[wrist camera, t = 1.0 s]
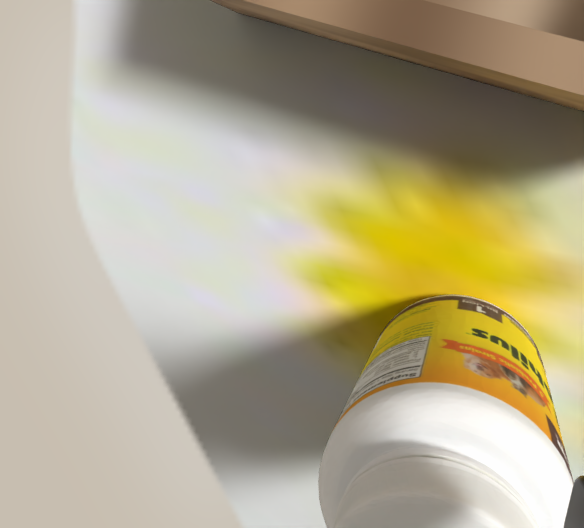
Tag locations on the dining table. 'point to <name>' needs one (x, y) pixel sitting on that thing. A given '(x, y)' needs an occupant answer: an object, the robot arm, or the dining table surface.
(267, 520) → the dining table surface
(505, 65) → the walnut box
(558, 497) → the supplement bottle
